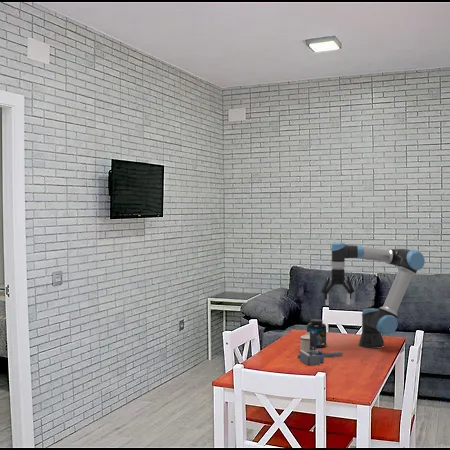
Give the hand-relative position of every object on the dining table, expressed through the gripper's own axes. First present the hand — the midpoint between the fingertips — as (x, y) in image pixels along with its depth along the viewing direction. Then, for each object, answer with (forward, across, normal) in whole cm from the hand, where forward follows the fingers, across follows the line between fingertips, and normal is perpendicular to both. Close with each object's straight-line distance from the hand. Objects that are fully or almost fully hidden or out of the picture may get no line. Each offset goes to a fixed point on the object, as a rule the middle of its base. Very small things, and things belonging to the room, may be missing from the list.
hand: (337, 304), depth 354 cm
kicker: (+28, +18, +11) cm, 35 cm away
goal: (+29, +24, +16) cm, 41 cm away
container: (+29, +4, -21) cm, 36 cm away
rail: (+29, +14, +6) cm, 32 cm away
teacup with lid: (+29, +15, -8) cm, 34 cm away
